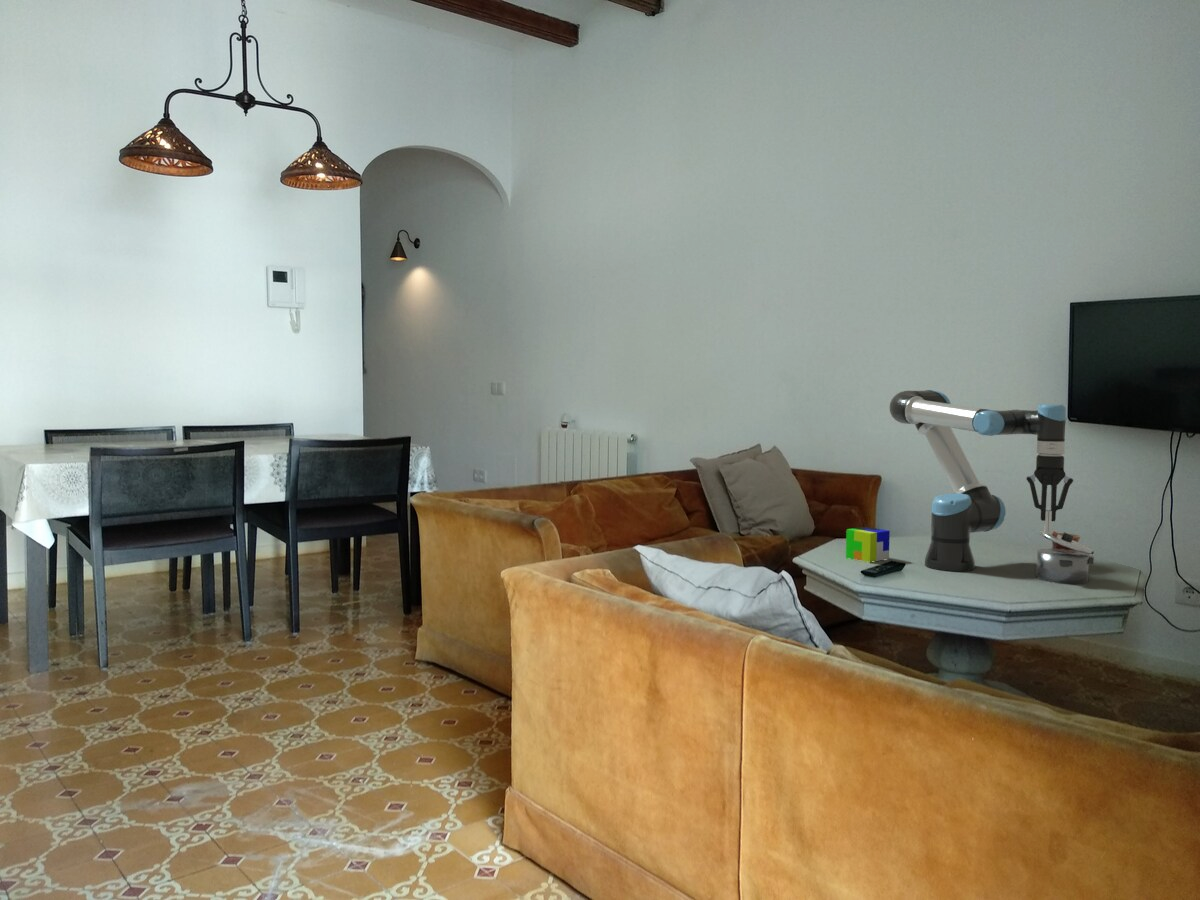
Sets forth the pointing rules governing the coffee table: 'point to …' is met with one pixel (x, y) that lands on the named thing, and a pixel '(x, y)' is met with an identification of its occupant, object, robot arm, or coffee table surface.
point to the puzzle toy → (867, 544)
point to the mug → (1058, 546)
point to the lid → (1066, 541)
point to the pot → (1063, 566)
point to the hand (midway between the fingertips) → (1047, 531)
